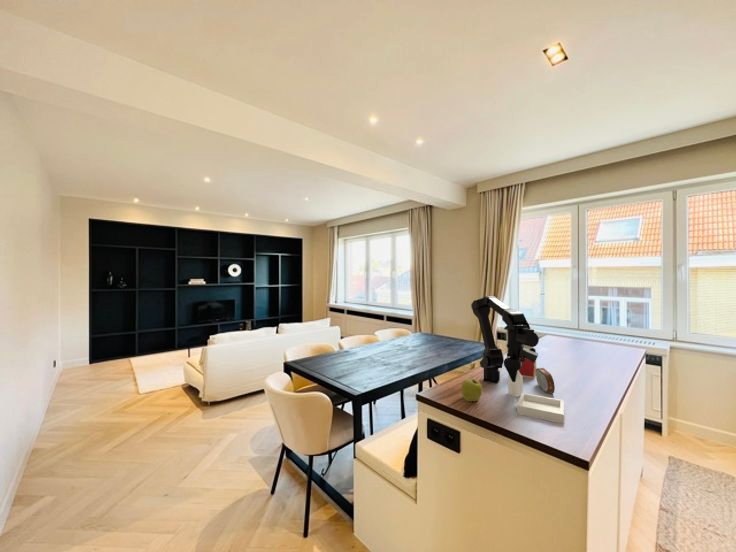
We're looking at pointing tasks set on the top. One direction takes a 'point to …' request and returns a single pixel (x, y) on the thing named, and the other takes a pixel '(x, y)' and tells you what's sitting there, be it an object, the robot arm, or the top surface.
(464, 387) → the apple
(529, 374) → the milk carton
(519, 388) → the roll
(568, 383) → the top surface
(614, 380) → the top surface
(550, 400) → the tray
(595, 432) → the top surface
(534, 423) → the top surface
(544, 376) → the tin
